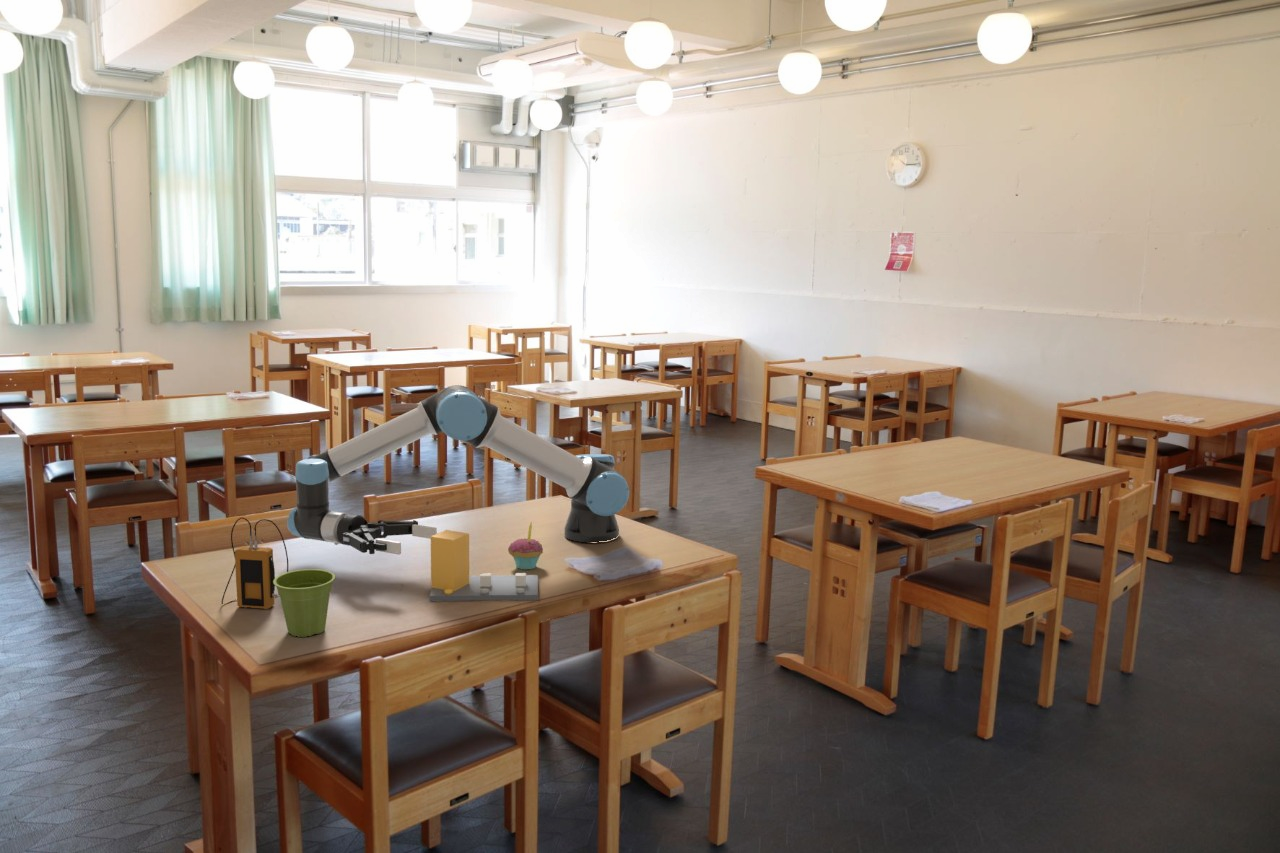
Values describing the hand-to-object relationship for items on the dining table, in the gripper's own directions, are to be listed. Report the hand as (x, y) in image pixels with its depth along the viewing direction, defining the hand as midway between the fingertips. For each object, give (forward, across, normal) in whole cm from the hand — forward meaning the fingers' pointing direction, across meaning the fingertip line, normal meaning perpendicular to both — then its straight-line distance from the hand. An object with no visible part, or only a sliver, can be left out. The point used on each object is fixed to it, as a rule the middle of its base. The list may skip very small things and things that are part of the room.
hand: (418, 540), depth 230 cm
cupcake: (+15, -23, -11) cm, 30 cm away
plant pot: (-3, +34, -11) cm, 36 cm away
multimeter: (-23, +25, -11) cm, 36 cm away
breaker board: (+16, -4, -11) cm, 19 cm away
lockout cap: (+9, 0, -9) cm, 13 cm away
